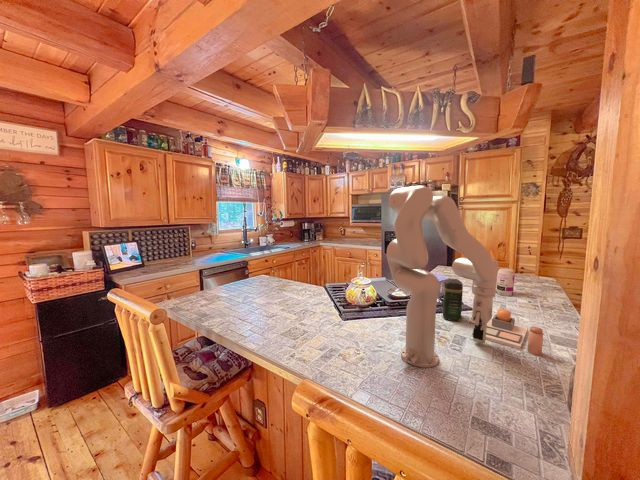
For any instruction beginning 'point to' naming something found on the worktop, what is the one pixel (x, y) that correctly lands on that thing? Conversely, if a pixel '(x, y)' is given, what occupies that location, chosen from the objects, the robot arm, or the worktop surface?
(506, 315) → the button
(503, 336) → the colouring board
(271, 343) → the worktop surface
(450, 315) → the coffee jar
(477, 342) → the cylinder
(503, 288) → the supplement can
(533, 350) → the peach cylinder
